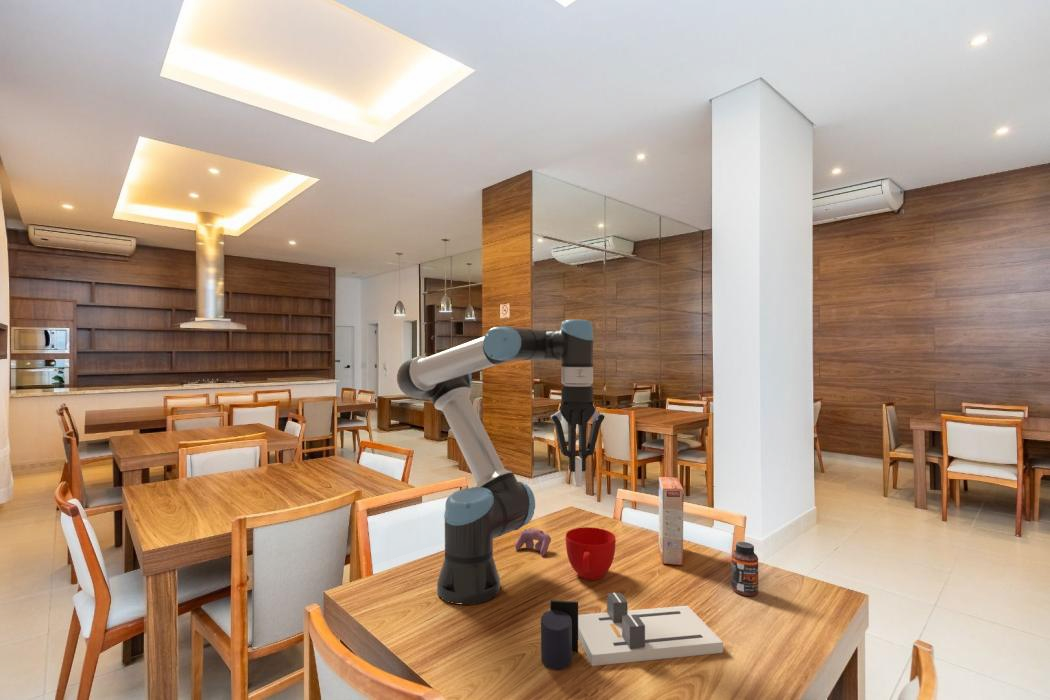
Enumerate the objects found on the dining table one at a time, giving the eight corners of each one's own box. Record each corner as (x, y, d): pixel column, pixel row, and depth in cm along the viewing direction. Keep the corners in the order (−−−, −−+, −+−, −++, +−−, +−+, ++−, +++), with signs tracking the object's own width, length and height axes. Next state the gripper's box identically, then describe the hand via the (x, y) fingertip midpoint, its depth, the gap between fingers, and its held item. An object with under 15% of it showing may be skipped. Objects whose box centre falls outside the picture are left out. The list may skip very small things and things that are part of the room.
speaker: (551, 642, 96) (551, 592, 95) (578, 651, 94) (579, 600, 93) (535, 668, 90) (535, 614, 89) (564, 678, 87) (565, 624, 86)
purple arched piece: (549, 558, 141) (554, 533, 144) (542, 556, 138) (548, 530, 141) (520, 551, 146) (525, 527, 149) (513, 549, 143) (518, 524, 146)
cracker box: (684, 566, 132) (684, 489, 133) (661, 564, 133) (661, 487, 134) (679, 547, 146) (678, 476, 146) (658, 545, 147) (657, 475, 147)
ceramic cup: (559, 589, 119) (559, 548, 119) (569, 561, 135) (569, 525, 135) (613, 596, 116) (613, 553, 116) (617, 566, 132) (616, 529, 132)
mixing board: (592, 665, 89) (592, 654, 89) (572, 624, 103) (572, 614, 103) (723, 652, 93) (723, 641, 93) (687, 614, 107) (687, 605, 107)
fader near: (629, 648, 91) (629, 626, 91) (622, 636, 95) (622, 615, 95) (645, 647, 91) (645, 625, 92) (636, 634, 96) (636, 613, 96)
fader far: (613, 622, 100) (613, 602, 100) (607, 612, 104) (607, 593, 104) (627, 621, 100) (627, 601, 100) (620, 611, 104) (620, 592, 104)
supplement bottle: (745, 599, 114) (744, 550, 114) (725, 588, 120) (725, 541, 120) (764, 594, 117) (763, 547, 117) (744, 584, 122) (744, 538, 122)
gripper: (553, 386, 111) (553, 490, 110) (608, 385, 113) (608, 488, 112) (547, 384, 118) (546, 482, 118) (598, 384, 120) (598, 480, 120)
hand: (577, 485), depth 115 cm, fingers closed
